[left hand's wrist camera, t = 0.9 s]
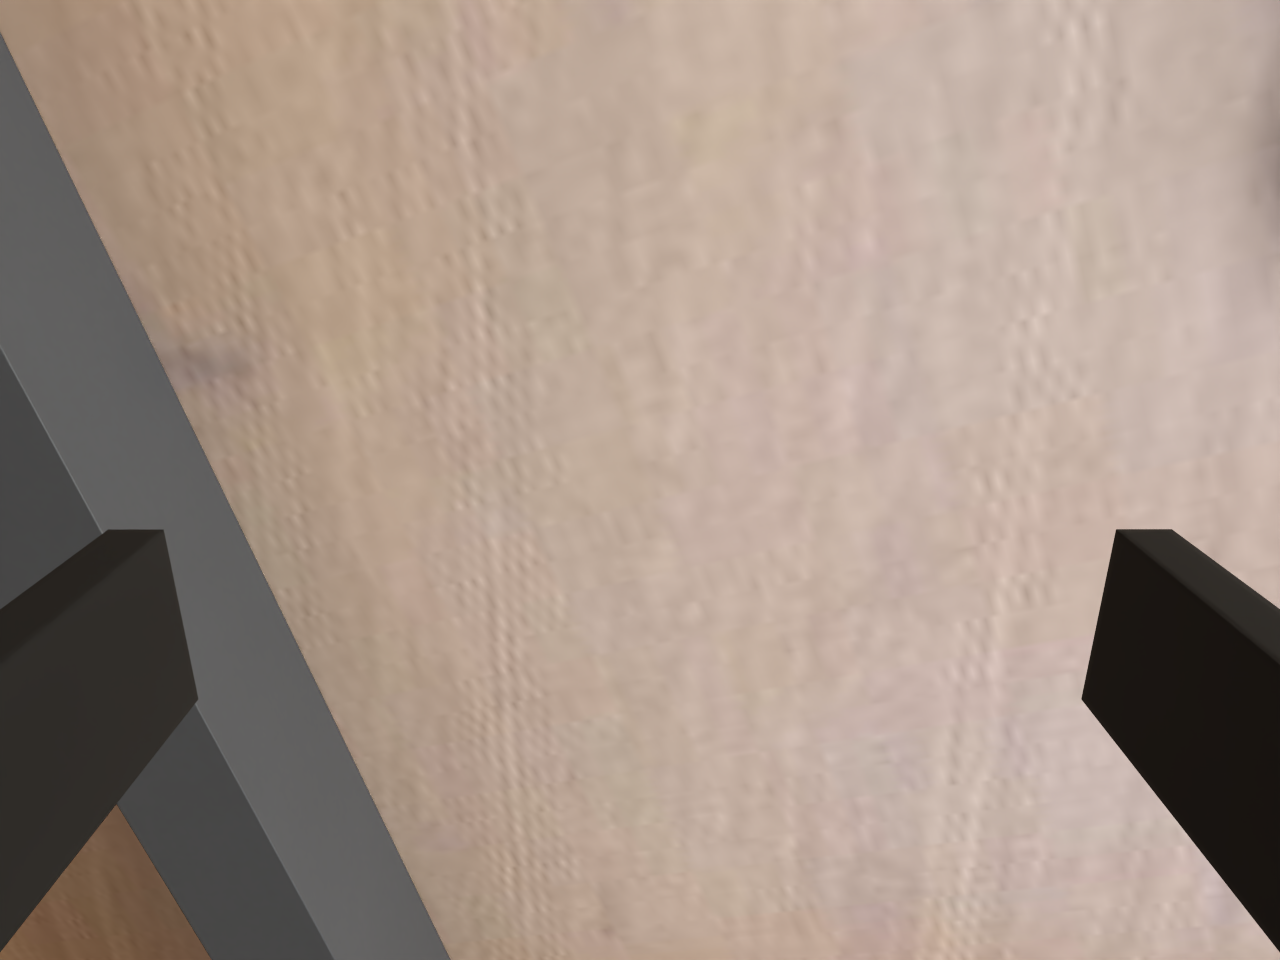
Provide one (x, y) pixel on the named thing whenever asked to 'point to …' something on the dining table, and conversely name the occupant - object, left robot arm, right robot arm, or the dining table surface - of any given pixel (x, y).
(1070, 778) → the dining table surface
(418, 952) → the beam
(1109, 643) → the left robot arm
